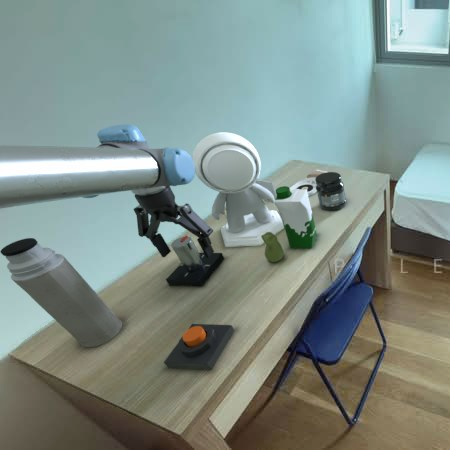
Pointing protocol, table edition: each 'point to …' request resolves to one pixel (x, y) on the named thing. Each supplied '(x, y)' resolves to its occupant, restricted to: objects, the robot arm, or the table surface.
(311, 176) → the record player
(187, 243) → the timer knob
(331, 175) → the supplement container
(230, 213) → the white cartoon figure
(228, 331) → the black button base
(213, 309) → the table surface
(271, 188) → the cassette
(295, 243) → the milk carton
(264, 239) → the pear
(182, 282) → the timer panel
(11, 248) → the thermos bottle
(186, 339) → the power button
